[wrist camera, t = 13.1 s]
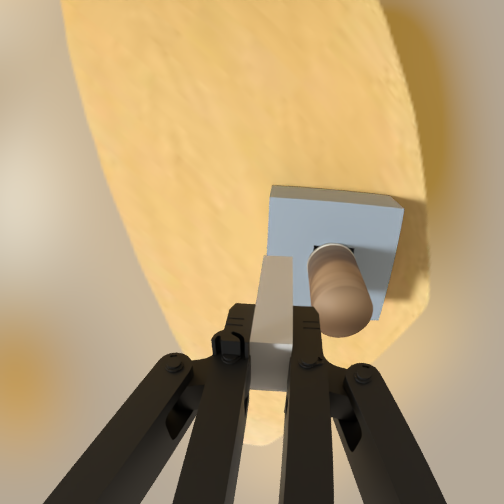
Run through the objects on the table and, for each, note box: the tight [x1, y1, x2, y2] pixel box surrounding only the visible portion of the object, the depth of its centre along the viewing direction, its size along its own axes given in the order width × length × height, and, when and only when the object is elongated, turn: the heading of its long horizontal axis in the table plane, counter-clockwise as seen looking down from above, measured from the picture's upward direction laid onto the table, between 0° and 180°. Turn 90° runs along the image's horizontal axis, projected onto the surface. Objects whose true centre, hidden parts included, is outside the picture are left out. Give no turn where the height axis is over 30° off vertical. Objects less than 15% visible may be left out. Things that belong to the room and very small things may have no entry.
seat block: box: [267, 185, 404, 320], centre depth 41 cm, size 16×16×6 cm
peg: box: [307, 243, 373, 338], centre depth 36 cm, size 6×6×15 cm
